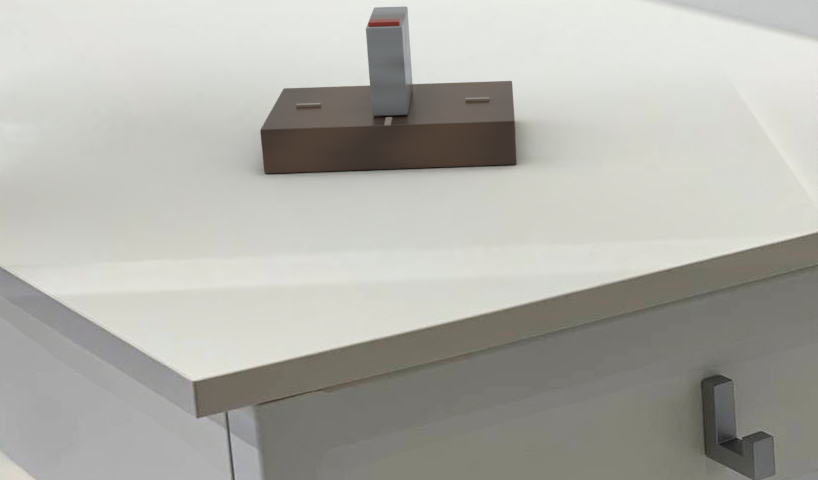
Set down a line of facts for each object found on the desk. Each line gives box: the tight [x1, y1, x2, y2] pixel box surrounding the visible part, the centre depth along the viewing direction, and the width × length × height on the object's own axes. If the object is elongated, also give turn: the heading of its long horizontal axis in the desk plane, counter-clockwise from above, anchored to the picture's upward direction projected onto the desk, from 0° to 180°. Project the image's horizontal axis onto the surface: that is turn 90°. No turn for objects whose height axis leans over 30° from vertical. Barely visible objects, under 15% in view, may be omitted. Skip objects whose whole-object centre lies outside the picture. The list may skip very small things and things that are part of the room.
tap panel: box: [259, 80, 518, 175], centre depth 95 cm, size 14×11×3 cm
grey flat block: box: [365, 6, 414, 116], centre depth 94 cm, size 7×2×5 cm, turn 4°
